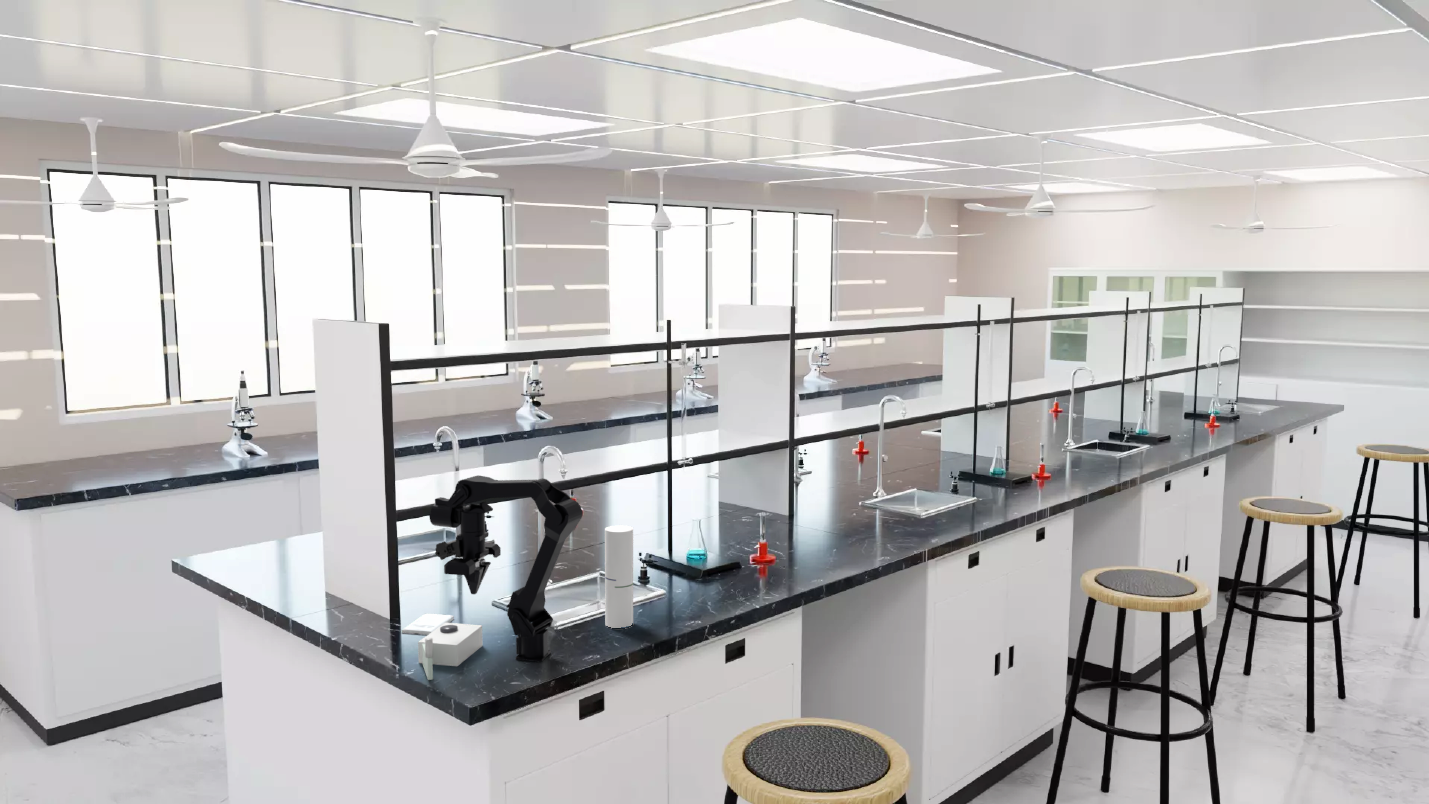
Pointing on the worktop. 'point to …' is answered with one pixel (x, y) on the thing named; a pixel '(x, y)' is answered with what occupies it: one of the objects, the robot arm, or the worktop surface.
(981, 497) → the worktop surface
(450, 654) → the instrument case
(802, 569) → the worktop surface
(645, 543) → the worktop surface
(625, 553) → the cylindrical container
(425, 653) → the side door
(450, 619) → the external hard drive
